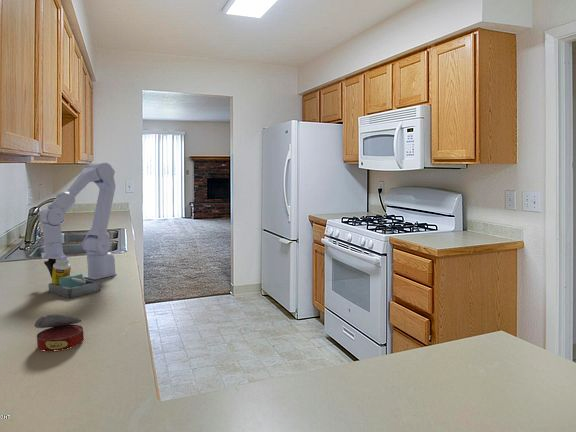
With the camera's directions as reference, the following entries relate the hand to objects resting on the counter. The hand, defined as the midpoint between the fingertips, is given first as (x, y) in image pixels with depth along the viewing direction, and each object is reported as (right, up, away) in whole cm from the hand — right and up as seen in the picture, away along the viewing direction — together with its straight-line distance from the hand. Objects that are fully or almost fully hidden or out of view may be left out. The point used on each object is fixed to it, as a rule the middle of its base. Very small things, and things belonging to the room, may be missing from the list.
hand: (55, 279), depth 158 cm
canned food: (+29, -8, -53) cm, 61 cm away
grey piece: (+10, -3, -7) cm, 12 cm away
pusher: (+12, -3, -8) cm, 15 cm away
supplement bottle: (+2, -2, -1) cm, 3 cm away
